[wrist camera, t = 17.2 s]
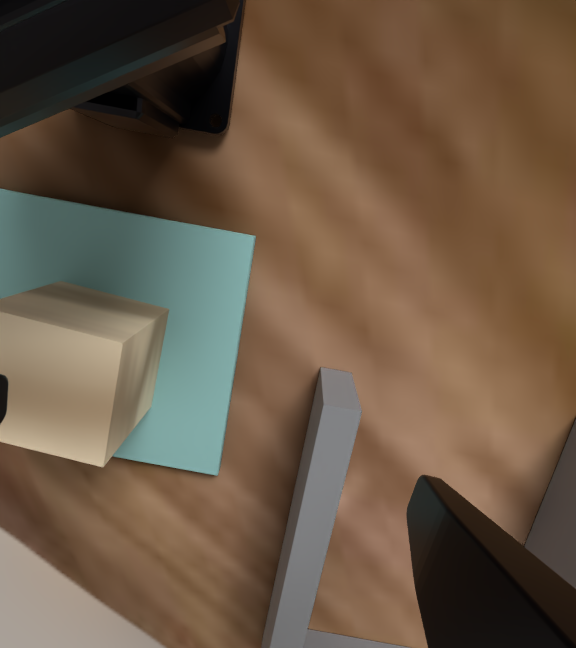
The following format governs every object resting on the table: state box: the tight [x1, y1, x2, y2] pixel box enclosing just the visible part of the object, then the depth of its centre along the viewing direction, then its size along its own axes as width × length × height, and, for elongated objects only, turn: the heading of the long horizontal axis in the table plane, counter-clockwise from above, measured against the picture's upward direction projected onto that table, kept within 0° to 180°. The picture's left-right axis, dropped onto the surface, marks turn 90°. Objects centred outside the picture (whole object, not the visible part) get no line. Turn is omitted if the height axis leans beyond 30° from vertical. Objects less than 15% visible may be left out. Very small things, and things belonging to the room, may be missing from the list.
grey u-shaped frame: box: [261, 367, 576, 648], centre depth 21 cm, size 18×14×4 cm
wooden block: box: [0, 281, 169, 467], centre depth 17 cm, size 5×5×5 cm
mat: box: [0, 189, 256, 476], centre depth 20 cm, size 12×12×1 cm
